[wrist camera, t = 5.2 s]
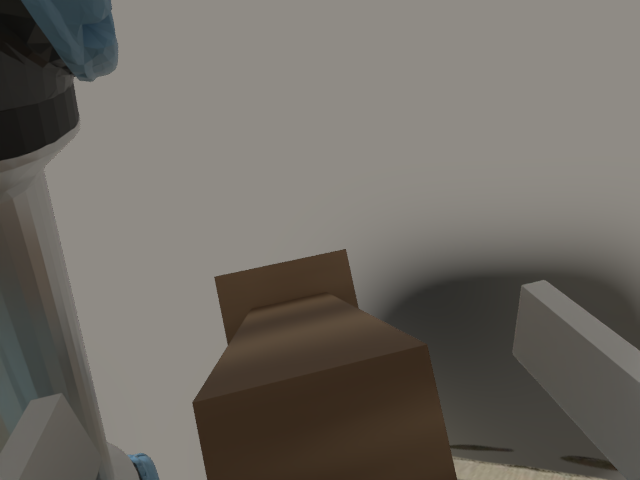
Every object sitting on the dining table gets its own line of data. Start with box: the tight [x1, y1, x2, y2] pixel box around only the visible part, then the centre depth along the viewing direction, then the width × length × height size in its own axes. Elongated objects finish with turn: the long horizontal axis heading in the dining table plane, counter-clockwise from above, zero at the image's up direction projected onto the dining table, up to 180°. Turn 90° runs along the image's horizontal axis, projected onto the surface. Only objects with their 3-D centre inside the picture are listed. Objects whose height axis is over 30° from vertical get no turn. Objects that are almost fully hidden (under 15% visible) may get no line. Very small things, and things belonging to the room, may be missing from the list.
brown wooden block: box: [193, 249, 457, 480], centre depth 17 cm, size 21×7×6 cm, turn 6°
